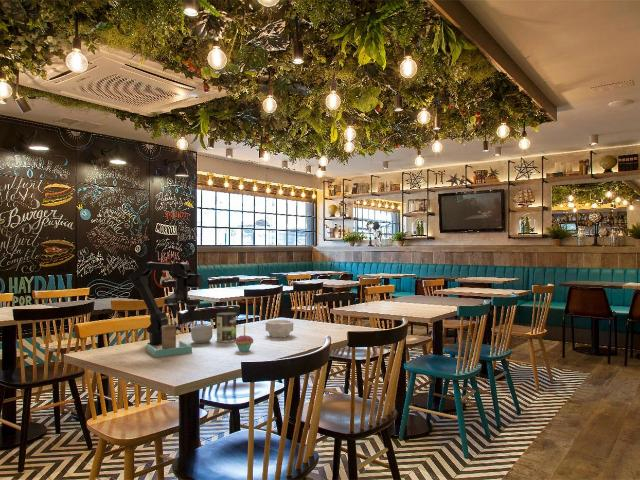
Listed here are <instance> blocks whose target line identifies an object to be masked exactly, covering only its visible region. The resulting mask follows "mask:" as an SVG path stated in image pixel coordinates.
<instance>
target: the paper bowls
mask: <svg viewBox="0 0 640 480" xmlns="http://www.w3.org/2000/svg"><path fill="white" fill-rule="evenodd" d="M265 331H266V332H268V334H269V336H270V337H272V338H287V337H289V336H290V333H291V332H293V331H294V322H293V320H288V319H287V320H286V319H271V320H266V321H265Z"/></svg>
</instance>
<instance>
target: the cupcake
mask: <svg viewBox="0 0 640 480" xmlns="http://www.w3.org/2000/svg"><path fill="white" fill-rule="evenodd" d="M253 343H254V338H253V337H252V336H250V335H246V324H244V325H243V335H239V336H238V337H236V339H235V341H234V344H236V346H237V349H238V351H239V352H241V353H242V352H243V353H245V352H249V351H250V350H251V349H250V348H251V346H252V344H253Z"/></svg>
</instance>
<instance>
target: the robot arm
mask: <svg viewBox="0 0 640 480" xmlns="http://www.w3.org/2000/svg"><path fill="white" fill-rule="evenodd" d="M152 271H163V272H165V271H166V272H170V273H172V274H174V275H172V277H171V279H175V289H174V290H173V293H171V294H170V295H168V296H167V297H165V298H164V299H163V304H164V305H166V307H168V308H169V310H170V312H171V314H172V317H173V319H176V318H177V314H178V308H179V304H185V305H186V306H185V307H186V309H187V320H191V319H192V315H193V314H194V312H195V310H196V308H197V307H199V305H201V300H200V299H199V298H190V297H189V292H190V288H191V289H192V288H193V289H195V288H196V289H197V288H198V289H202V287H203V285H204V280H203V277H202V274H201V273H196V274H195V273H194V272H193V271H192V269H191V267H190V265H189V262H185V261H184V262H183V261H182V262H174V263H169V262H167V263H166V262H165V263H164V262H155V261H154V262H153V261H146V262H144V263H143V264H142V265H141V266H139V267H138V268H136V269H135V270H134V271H132V272H131V273H130V274H129V277H128V278H129V281H130V282H131V284H132V285H133V286H134V287H135V288H137V290H138V291H139V293H140V296H141V297H142V299H143V302H144V303H145V306H146V308H147V310H148V312H149V322H150V325H148V327H146V332H147V333H148V334H149V342H148V343H146V344H147V345H148V344H150V345H151V346H159V345H162V326H166V325H169V316H168V315H167V313H166V311H162V310H160V308H159V306H158V304H157V302H156V300H155V298H154V296H153V293H152V291H151V289H150V287H149V278H148V277H149V275H150V274H151V273H152Z"/></svg>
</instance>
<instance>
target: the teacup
mask: <svg viewBox="0 0 640 480" xmlns="http://www.w3.org/2000/svg"><path fill="white" fill-rule="evenodd" d="M190 335H191V341H192V342H194V343H195V344H205V343H209V342H210V341H211V340H212V339H213V325H211V324H210V325H209V324H207V325H204V324H203V325H196V326H192V327H190Z"/></svg>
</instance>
